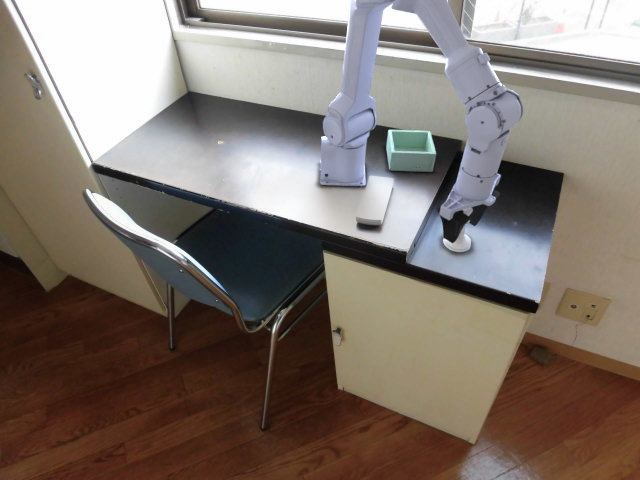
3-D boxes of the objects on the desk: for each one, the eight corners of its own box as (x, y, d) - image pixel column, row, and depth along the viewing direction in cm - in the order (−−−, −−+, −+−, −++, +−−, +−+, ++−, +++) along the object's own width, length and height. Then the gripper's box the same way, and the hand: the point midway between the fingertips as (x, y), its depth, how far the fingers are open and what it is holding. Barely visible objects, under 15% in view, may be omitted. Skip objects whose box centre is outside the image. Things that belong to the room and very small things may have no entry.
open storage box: (389, 170, 103) (391, 152, 100) (386, 147, 110) (388, 129, 107) (432, 171, 103) (436, 153, 100) (426, 148, 110) (430, 130, 106)
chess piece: (441, 233, 88) (452, 190, 81) (467, 234, 88) (480, 191, 81) (445, 251, 85) (457, 208, 78) (473, 252, 85) (487, 209, 78)
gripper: (474, 198, 69) (455, 262, 79) (525, 161, 77) (501, 224, 86) (435, 177, 73) (421, 241, 82) (487, 143, 80) (468, 205, 90)
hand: (460, 231), depth 84 cm, fingers open, 6 cm apart
